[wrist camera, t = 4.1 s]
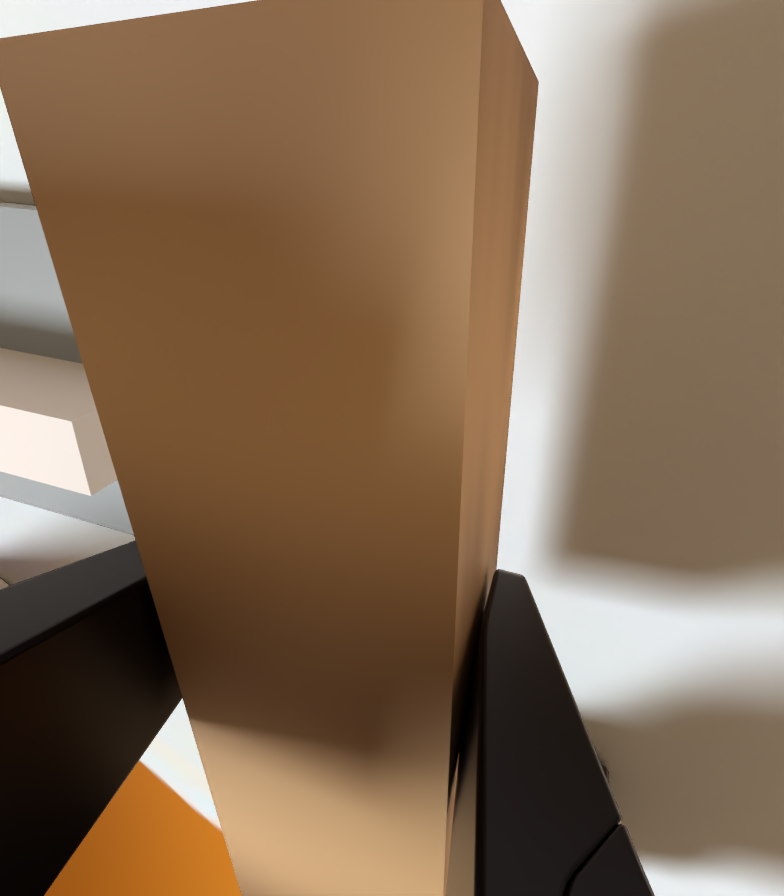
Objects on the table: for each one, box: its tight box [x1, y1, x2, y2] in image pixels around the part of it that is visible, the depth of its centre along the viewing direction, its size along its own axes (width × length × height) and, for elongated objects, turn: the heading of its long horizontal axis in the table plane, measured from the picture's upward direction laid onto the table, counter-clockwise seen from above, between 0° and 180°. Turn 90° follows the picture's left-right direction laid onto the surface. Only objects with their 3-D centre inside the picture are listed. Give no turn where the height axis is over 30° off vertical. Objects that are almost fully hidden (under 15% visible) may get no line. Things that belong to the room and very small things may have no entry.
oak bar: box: [0, 0, 539, 896], centre depth 7 cm, size 12×4×4 cm, turn 1°
